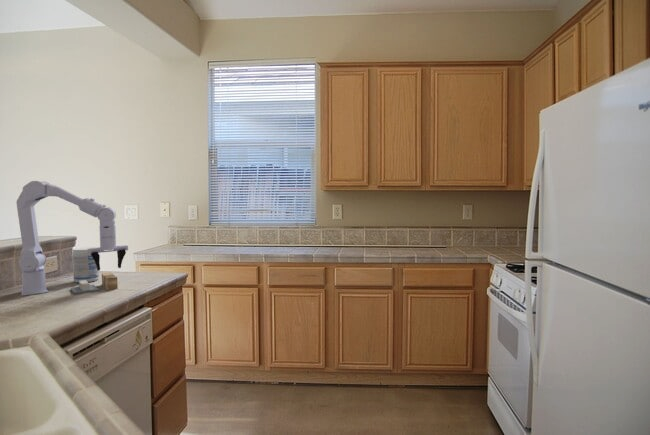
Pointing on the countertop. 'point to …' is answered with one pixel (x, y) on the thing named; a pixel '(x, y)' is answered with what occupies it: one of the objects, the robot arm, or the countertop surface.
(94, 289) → the fulcrum stand
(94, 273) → the supplement tub
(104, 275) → the oak stick
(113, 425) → the countertop surface
